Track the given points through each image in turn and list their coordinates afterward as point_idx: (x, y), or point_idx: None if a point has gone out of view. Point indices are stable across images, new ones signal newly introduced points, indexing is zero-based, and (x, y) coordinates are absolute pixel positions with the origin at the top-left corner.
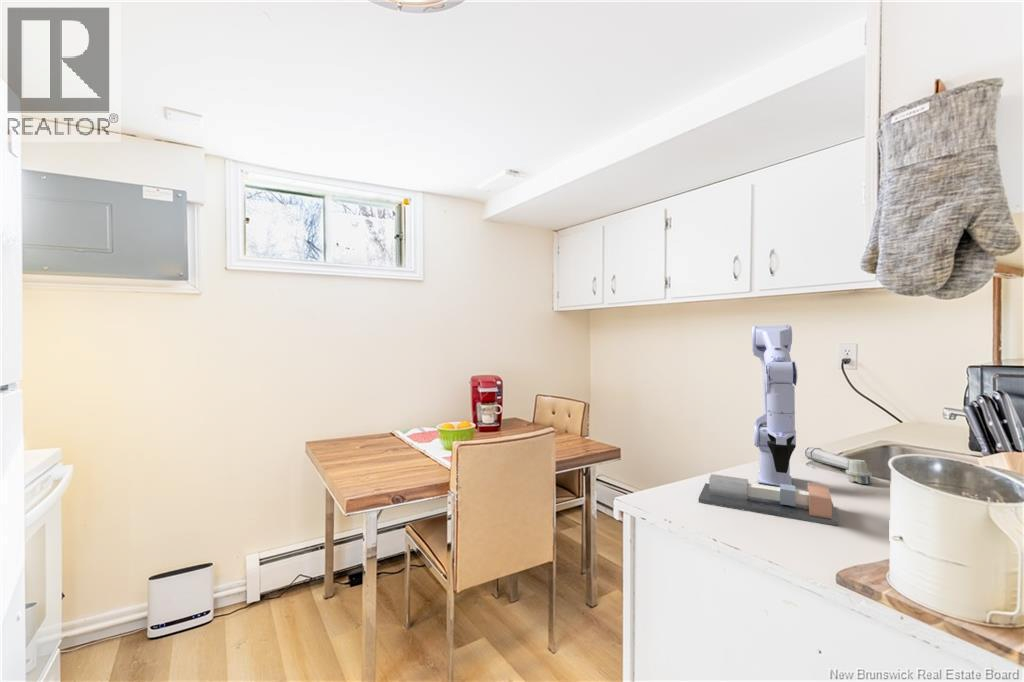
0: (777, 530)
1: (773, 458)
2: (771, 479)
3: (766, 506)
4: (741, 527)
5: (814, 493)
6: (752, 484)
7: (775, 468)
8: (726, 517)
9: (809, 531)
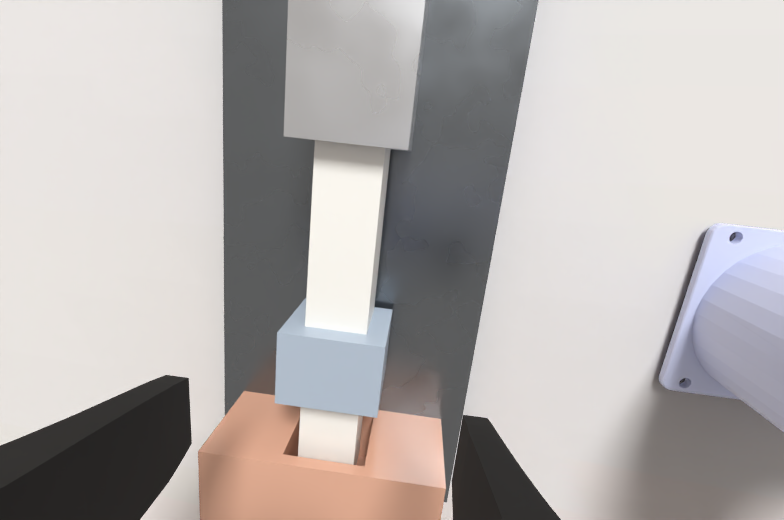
0: (74, 246)
1: (10, 443)
2: (716, 307)
3: (265, 231)
4: (16, 100)
5: (261, 482)
6: (370, 177)
7: (138, 386)
8: (92, 27)
9: (131, 356)
